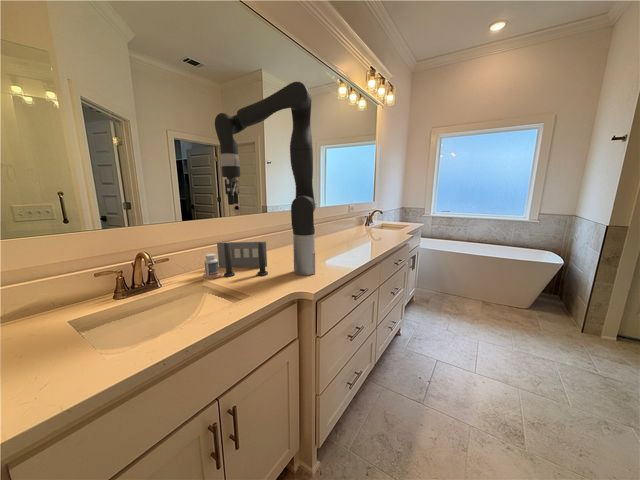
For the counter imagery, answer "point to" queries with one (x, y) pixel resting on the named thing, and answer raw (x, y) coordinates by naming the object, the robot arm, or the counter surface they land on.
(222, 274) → the coaster
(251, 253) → the panel
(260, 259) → the post
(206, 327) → the counter surface
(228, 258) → the post
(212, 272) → the pill bottle
